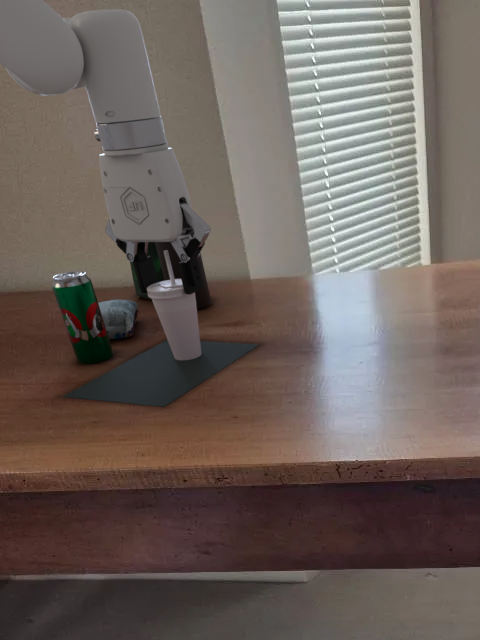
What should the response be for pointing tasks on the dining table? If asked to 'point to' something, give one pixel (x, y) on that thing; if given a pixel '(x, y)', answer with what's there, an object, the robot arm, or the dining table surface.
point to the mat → (160, 374)
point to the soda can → (82, 317)
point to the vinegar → (201, 295)
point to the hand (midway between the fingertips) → (171, 289)
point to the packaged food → (119, 317)
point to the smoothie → (177, 315)
